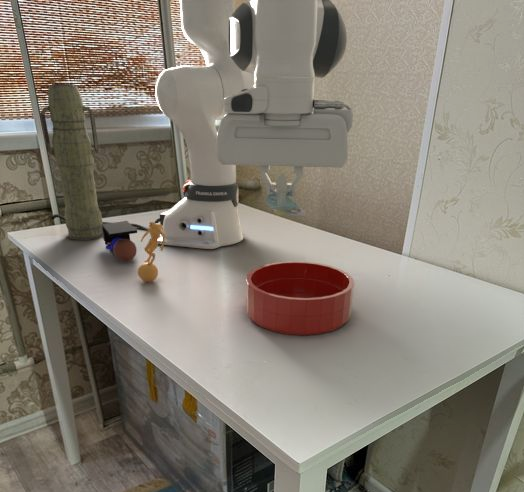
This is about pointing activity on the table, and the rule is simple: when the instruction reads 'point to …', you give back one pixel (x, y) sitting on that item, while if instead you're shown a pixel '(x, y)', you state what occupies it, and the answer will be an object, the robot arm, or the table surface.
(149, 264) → the figurine
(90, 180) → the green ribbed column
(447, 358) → the table surface
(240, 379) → the table surface
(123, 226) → the figurine character
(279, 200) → the pacifier
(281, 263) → the bowl
